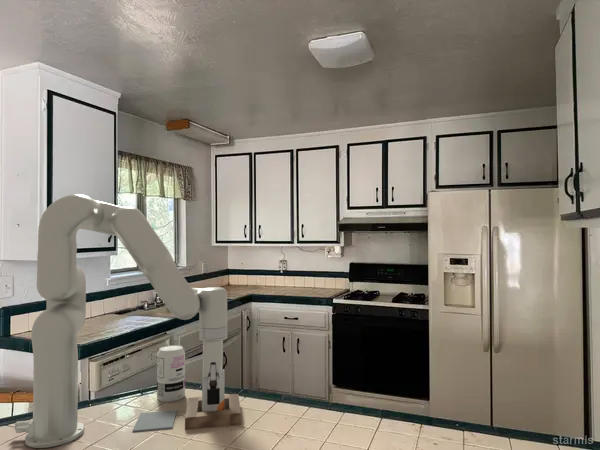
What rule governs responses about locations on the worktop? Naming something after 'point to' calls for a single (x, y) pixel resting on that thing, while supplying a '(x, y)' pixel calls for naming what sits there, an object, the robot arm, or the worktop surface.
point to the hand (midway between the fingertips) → (213, 398)
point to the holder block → (213, 414)
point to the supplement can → (170, 373)
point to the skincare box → (204, 394)
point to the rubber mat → (155, 421)
